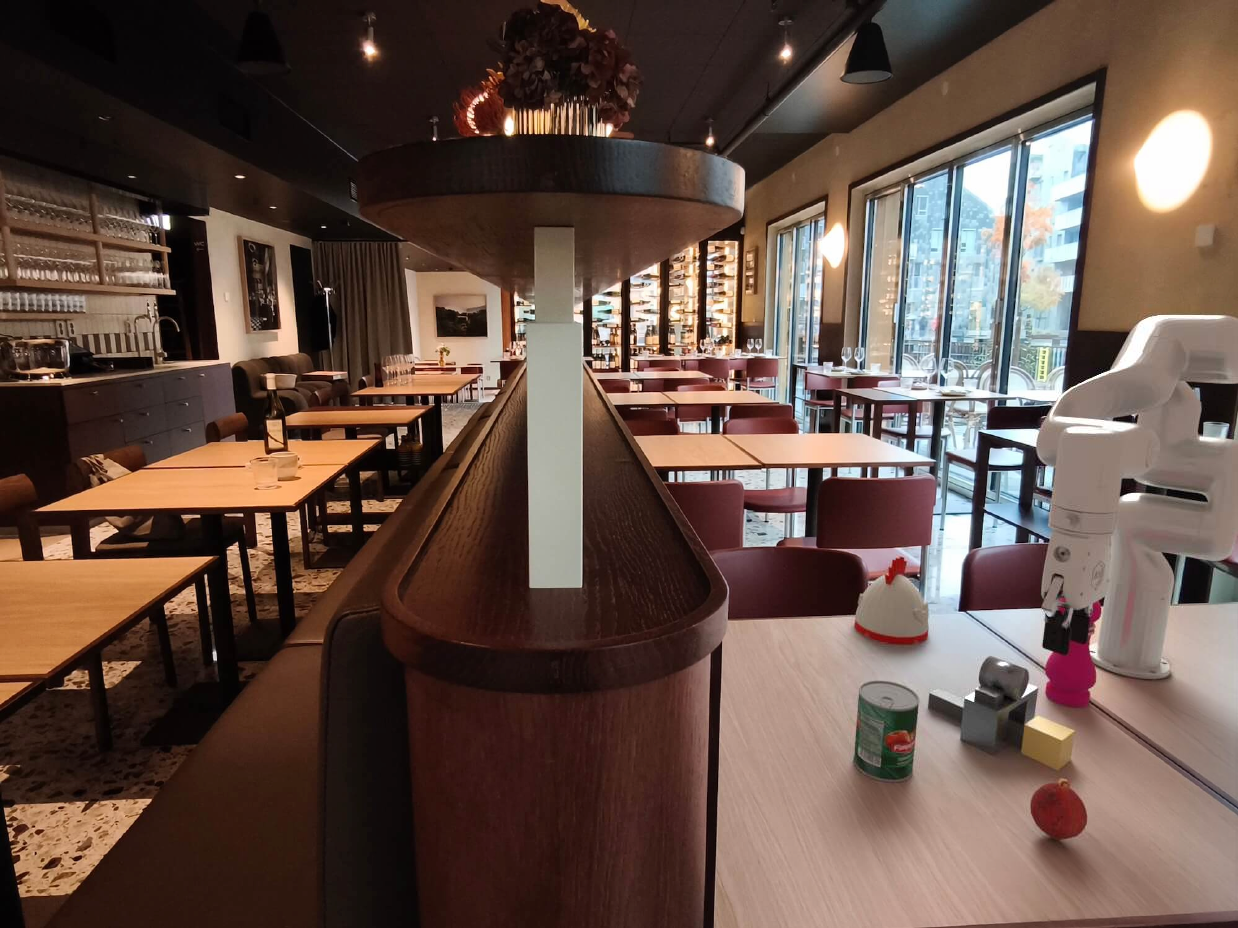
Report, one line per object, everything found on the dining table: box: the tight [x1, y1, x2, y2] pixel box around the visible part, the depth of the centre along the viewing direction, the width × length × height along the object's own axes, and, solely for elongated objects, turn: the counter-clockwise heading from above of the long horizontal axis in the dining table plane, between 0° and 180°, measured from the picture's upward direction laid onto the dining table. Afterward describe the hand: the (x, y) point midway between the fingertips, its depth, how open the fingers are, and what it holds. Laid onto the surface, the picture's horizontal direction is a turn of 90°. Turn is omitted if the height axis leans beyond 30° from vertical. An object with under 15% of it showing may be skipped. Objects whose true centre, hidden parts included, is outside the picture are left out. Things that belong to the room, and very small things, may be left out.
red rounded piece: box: [1029, 777, 1088, 841], centre depth 88 cm, size 6×6×8 cm
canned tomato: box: [853, 679, 920, 783], centre depth 102 cm, size 8×8×11 cm
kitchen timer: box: [854, 556, 930, 646], centre depth 146 cm, size 14×14×15 cm
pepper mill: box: [1044, 598, 1102, 708], centre depth 119 cm, size 7×7×20 cm
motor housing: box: [959, 655, 1039, 756], centre depth 109 cm, size 12×5×12 cm, turn 126°
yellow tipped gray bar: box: [927, 688, 1076, 771], centre depth 110 cm, size 4×20×5 cm, turn 37°
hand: (1064, 644), depth 101 cm, fingers open, 4 cm apart
